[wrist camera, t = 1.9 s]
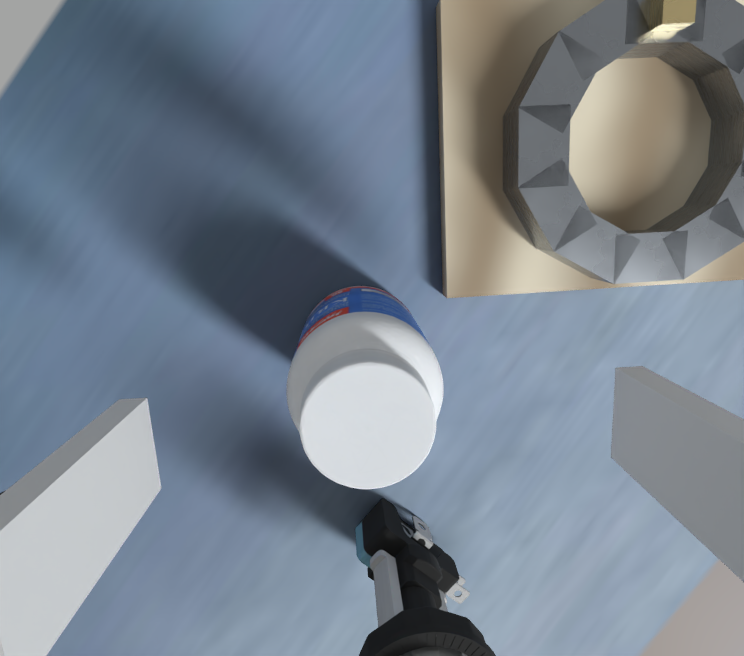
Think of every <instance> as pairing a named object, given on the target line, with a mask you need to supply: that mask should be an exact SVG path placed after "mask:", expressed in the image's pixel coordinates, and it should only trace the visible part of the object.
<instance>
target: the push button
mask: <svg viewBox="0 0 744 656" xmlns="http://www.w3.org/2000/svg"><path fill="white" fill-rule="evenodd" d="M412 519H413V523H414V528H415V529H413V528H412V527H411V526H409V525H408V524H406V523H405V522H404V521H402V520H401V519H400V518H399V515H398V513H397V510H396V508H395V507H394V506H393V505H392V504H391V503H390V502H388V501H387V500H385V499H381V500H380V501H379V503H378V504H377V505H376V506H375V507H374V508H373V509H372V510H371V511H370V513H369V514H368V515H367V516H366V517H365V518H364V519H363V520H362V521H361V523H360V524H359V525H358V526H357V527H356V528H355V533H356V550H357V557H358V559H359V560H360V561H361V562H362V563H363V564H365V565H366V566H368V577H369V578H371V579H372V580H374V584H375V595H376V606H377V617H378V628H377V629H376V630H374V631H373V632H371V633H370V634H369V635H368V637H367V639H366V641H365V643H364V645H363V647H362V650H361V652H360V654H359V656H496V655H495V654H494V652H493V651H492V650H491V648H490V647H489V646H488V645H487V644H486V643H485V640H484V637H483V635H482V633H481V632H480V631H479V630H478V629H477V628H476V627H475V626H474V624H473V623H472V622H471V621H470V620H469V619H467V618H466V617H463V616H459V615H456V614H453V613H450V612H448V610H447V607H446V603H447V599H446V596H445V594H446V595H448V596H449V597H450V598H452V599H453V600H455V601H456V602H458V603H462V602H463V601H464V600H465V599H466V598H467V597H468V596H469V595H470V594H469V591H467V590H466V589H465V588H463V587H462V585H463V584H464V583H465V579H464V578H462V577H461V576H460V575H459V574H458V571H457V568H456V565H455V562H454V560H453V559H452V558H451V557H450V556H449V555H448V554H446V553H445V552H444V551H443V550H442V549H441V548H439V547H438V546H437V545H435V544H434V543H433V542H432V537H431V533H430V529H429V527H428V526H427V525H426V524H425V523H424V522H422V521H421V520H420V519H418V518H417V517H416V516H413V517H412ZM418 523H419V524H421V525H422V526H423V528H424V529H425V530H423V529H422V528H421V527H420V526H419V524H418ZM456 582H457V583H456ZM457 590H460V591H461V592H462V594H461V595H460V596H455V595H454V592H455V591H457Z"/></svg>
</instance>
